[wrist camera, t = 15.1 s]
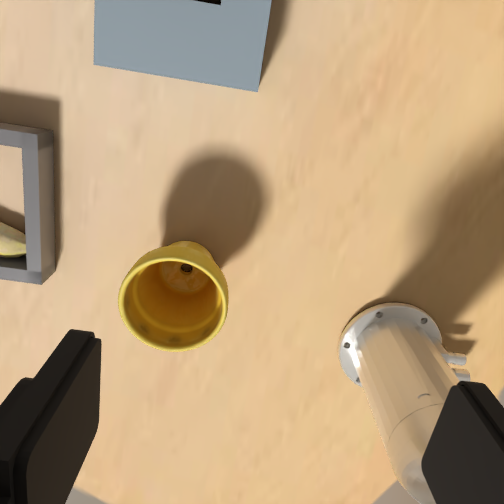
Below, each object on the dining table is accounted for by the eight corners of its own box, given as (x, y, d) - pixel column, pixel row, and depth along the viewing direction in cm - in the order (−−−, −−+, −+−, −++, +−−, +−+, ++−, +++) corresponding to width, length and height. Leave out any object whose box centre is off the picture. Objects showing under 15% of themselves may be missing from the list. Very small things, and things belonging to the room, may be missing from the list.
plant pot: (181, 204, 47) (165, 234, 38) (249, 264, 49) (249, 306, 40) (123, 267, 49) (95, 309, 40) (191, 320, 52) (179, 371, 43)
